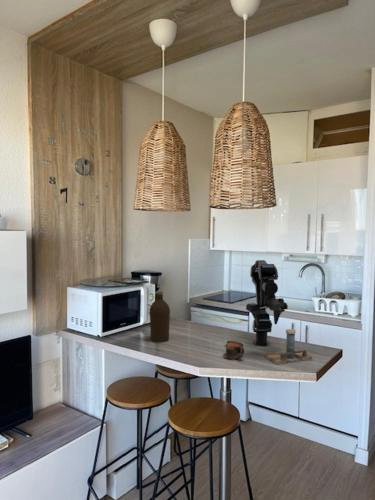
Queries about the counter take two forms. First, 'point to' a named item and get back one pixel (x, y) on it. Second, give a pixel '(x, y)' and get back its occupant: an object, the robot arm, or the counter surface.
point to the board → (280, 356)
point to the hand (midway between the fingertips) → (266, 325)
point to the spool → (290, 344)
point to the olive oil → (159, 319)
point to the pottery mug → (233, 350)
